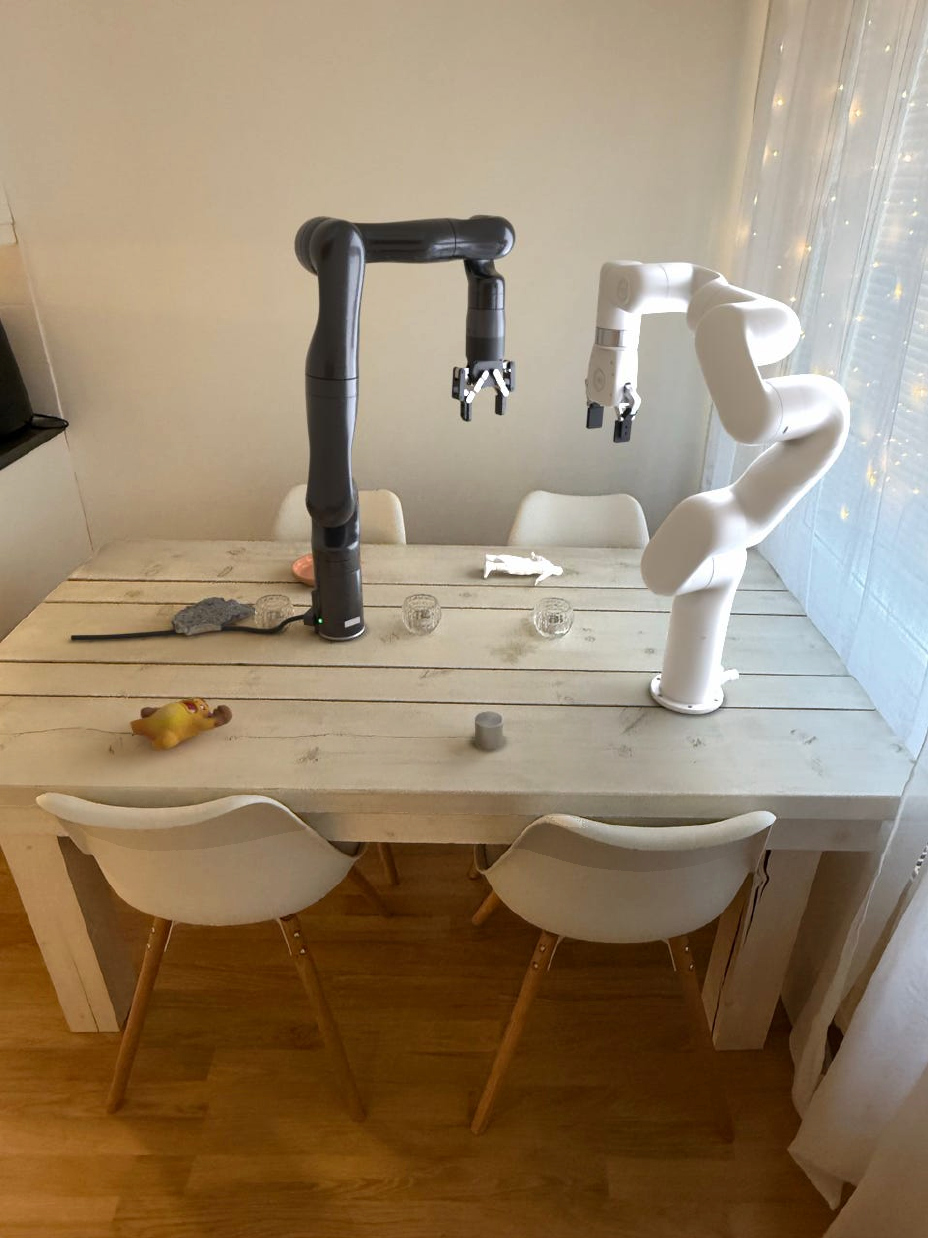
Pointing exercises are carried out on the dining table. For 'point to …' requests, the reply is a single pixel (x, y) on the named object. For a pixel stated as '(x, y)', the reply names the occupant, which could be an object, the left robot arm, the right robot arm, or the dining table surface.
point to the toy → (179, 721)
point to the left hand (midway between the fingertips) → (483, 417)
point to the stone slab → (210, 615)
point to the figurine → (520, 566)
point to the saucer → (304, 570)
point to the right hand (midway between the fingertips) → (607, 434)
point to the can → (488, 730)
